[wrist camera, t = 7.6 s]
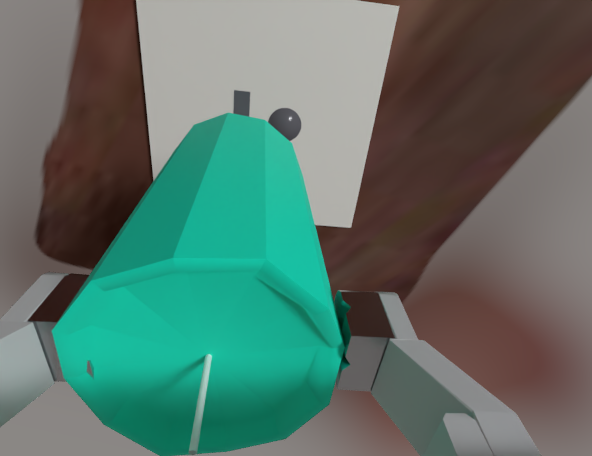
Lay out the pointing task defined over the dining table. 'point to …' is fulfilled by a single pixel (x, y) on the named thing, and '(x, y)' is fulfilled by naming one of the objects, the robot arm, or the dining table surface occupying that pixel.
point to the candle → (209, 302)
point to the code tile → (272, 80)
